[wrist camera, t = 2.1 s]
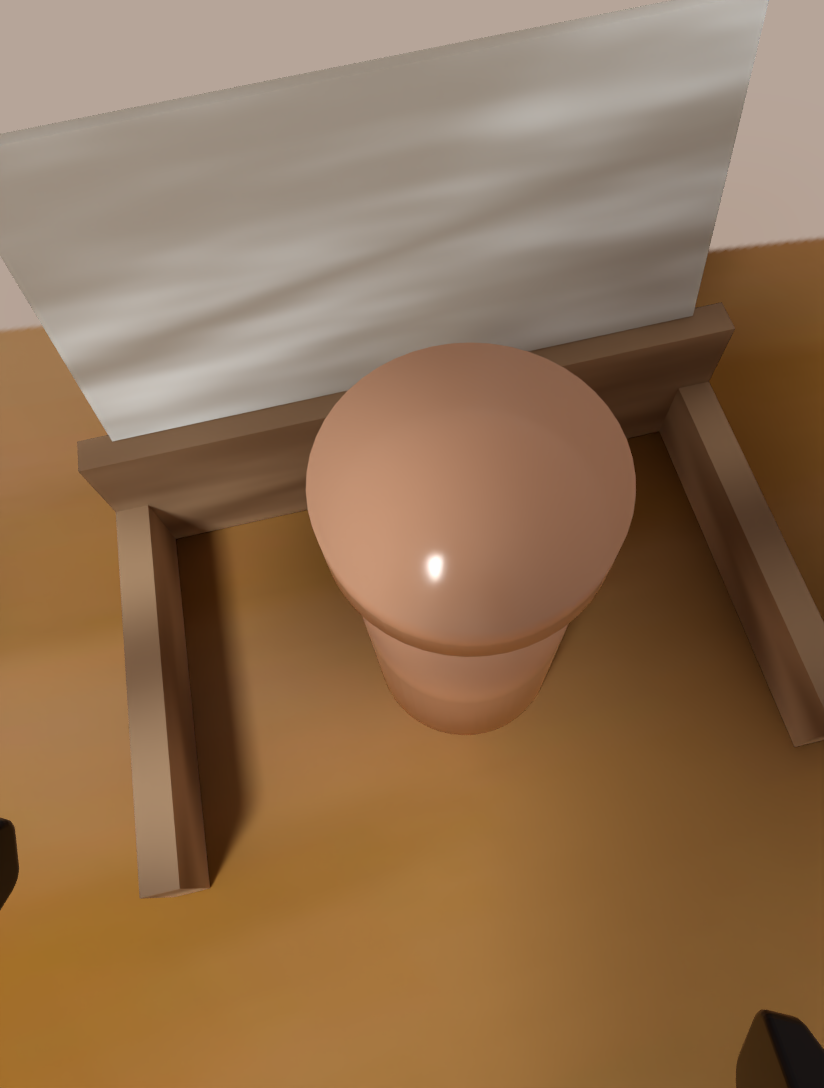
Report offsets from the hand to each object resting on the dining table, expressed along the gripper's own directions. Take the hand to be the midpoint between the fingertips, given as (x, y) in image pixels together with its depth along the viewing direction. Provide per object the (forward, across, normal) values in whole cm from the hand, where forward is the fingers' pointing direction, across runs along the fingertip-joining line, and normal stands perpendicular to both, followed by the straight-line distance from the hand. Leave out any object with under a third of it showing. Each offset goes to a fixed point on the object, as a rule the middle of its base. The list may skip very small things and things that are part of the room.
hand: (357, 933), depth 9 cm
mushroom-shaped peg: (+14, 0, +4) cm, 15 cm away
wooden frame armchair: (+16, +1, +3) cm, 16 cm away
